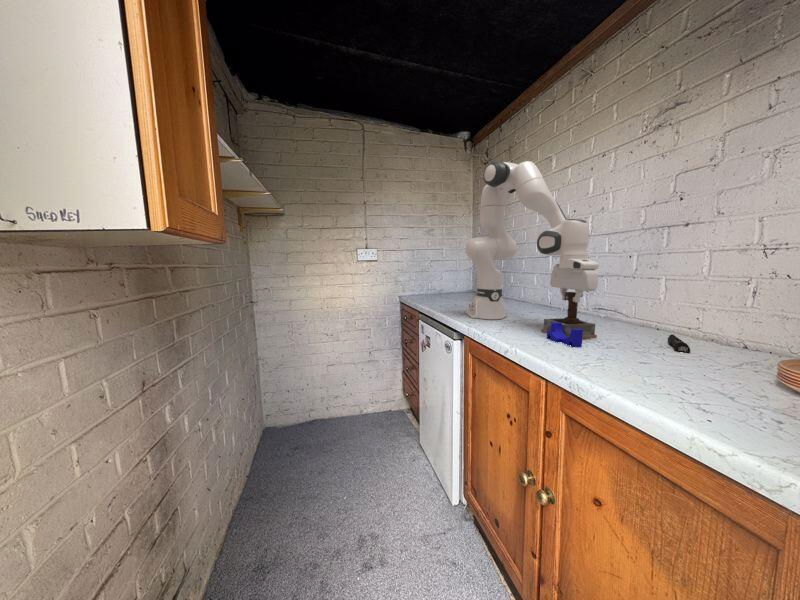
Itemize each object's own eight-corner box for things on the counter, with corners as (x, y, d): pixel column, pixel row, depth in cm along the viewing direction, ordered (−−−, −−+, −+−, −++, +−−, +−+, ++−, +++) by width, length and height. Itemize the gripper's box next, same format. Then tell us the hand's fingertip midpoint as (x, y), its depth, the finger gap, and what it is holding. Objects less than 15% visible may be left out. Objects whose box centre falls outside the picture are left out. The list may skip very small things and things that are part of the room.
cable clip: (546, 338, 111) (547, 322, 110) (558, 338, 111) (559, 322, 110) (568, 348, 99) (570, 330, 98) (581, 347, 99) (582, 329, 99)
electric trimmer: (678, 343, 105) (679, 334, 105) (691, 354, 92) (692, 344, 92) (664, 342, 107) (665, 333, 107) (674, 352, 94) (675, 342, 94)
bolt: (581, 334, 111) (584, 292, 110) (566, 333, 112) (569, 292, 111) (575, 331, 117) (578, 292, 115) (560, 330, 118) (563, 291, 116)
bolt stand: (541, 331, 121) (542, 318, 120) (570, 330, 123) (571, 317, 122) (564, 340, 108) (565, 325, 107) (596, 338, 110) (597, 324, 110)
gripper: (547, 263, 122) (545, 298, 123) (586, 264, 102) (583, 305, 103) (561, 263, 123) (559, 297, 124) (603, 263, 103) (599, 304, 104)
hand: (570, 301), depth 114 cm, fingers closed on bolt, 4 cm apart
